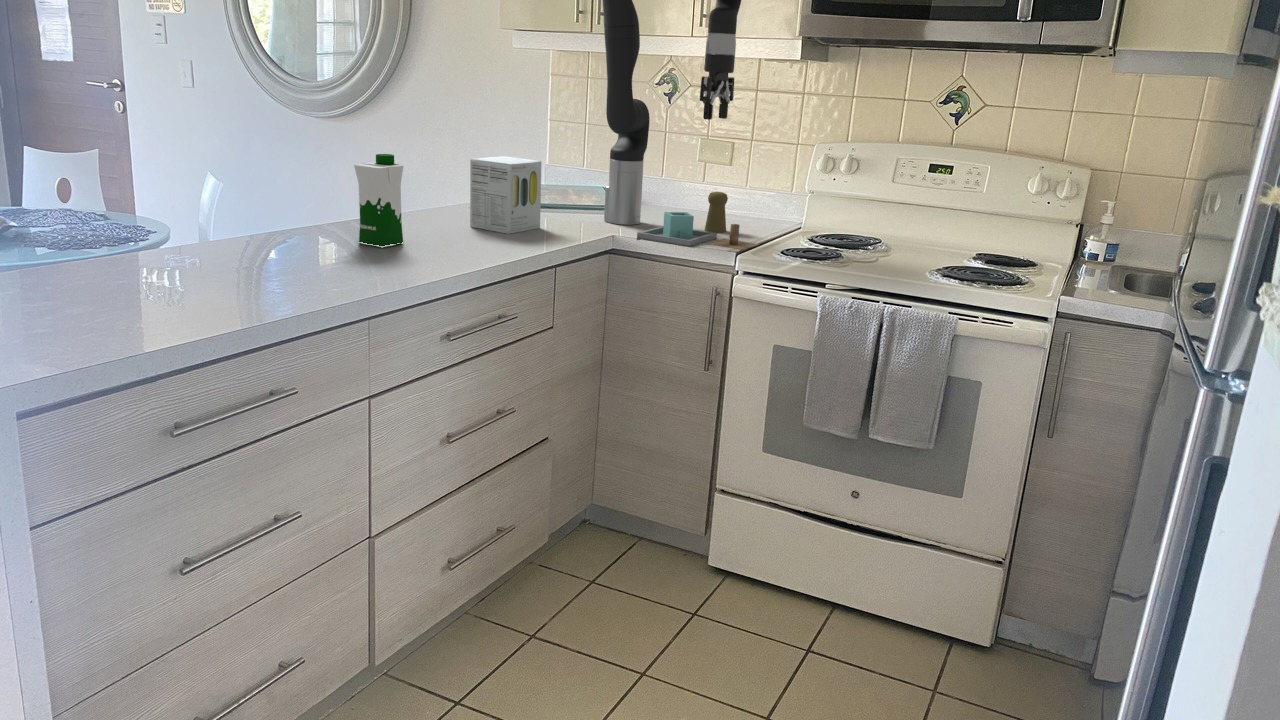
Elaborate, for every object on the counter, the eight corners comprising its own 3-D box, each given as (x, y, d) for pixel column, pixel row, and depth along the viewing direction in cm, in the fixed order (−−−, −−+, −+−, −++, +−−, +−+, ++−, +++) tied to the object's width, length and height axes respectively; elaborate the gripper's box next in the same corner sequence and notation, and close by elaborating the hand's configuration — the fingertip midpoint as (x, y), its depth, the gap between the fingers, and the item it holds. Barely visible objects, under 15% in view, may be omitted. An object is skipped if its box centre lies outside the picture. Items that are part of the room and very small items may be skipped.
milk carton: (409, 243, 217) (407, 156, 210) (381, 249, 209) (378, 158, 203) (380, 238, 220) (377, 152, 214) (352, 244, 213) (348, 154, 207)
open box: (662, 235, 241) (664, 211, 239) (685, 235, 242) (686, 212, 240) (671, 240, 234) (672, 216, 232) (693, 241, 235) (695, 217, 233)
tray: (636, 240, 236) (637, 232, 236) (665, 232, 249) (666, 225, 248) (689, 249, 229) (689, 240, 229) (716, 240, 242) (716, 233, 241)
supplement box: (509, 234, 235) (509, 163, 229) (469, 227, 241) (469, 158, 236) (541, 228, 246) (542, 160, 240) (502, 221, 252) (503, 155, 247)
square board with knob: (706, 246, 234) (708, 224, 232) (724, 240, 242) (725, 219, 240) (743, 252, 229) (745, 229, 227) (759, 246, 237) (761, 224, 236)
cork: (718, 235, 249) (721, 194, 245) (699, 232, 252) (702, 191, 249) (730, 233, 253) (734, 192, 250) (711, 230, 257) (715, 189, 253)
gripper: (719, 53, 244) (714, 117, 249) (693, 51, 232) (689, 118, 237) (745, 54, 240) (740, 119, 245) (720, 52, 229) (715, 120, 234)
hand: (715, 118), depth 241 cm, fingers open, 8 cm apart
